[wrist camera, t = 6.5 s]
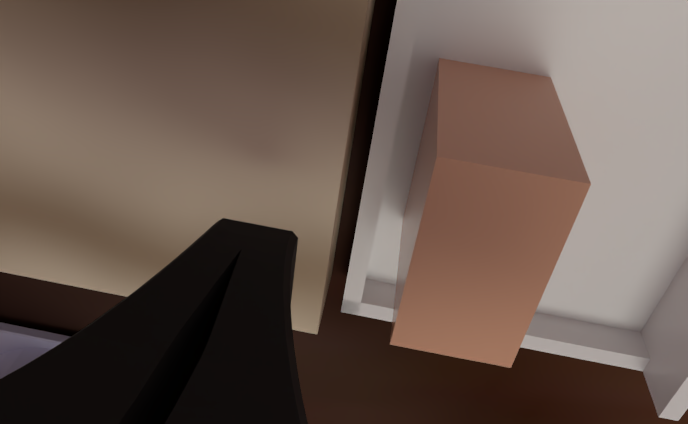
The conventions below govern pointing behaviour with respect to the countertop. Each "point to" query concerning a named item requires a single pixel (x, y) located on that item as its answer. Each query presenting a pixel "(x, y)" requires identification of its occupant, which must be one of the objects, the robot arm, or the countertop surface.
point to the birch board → (174, 133)
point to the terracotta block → (485, 212)
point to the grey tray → (598, 158)
